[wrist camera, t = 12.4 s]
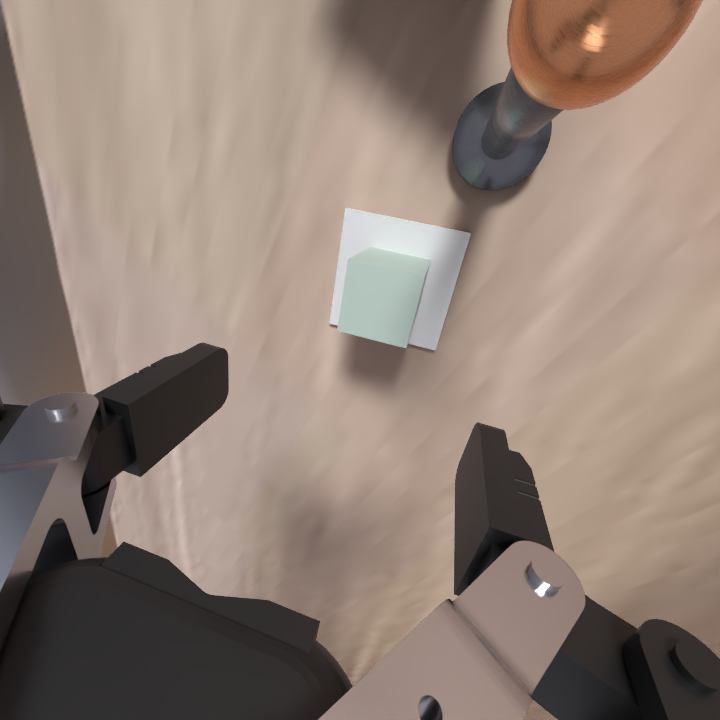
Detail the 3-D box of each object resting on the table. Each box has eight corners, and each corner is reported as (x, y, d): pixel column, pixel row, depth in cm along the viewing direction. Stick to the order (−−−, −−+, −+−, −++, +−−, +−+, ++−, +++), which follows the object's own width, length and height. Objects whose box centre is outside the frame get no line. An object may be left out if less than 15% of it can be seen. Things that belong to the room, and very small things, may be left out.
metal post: (563, 94, 22) (1057, -396, 4) (526, 197, 24) (720, 181, 7) (468, 81, 22) (525, -370, 5) (442, 182, 25) (419, 132, 7)
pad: (470, 233, 26) (471, 233, 26) (435, 349, 31) (435, 350, 30) (346, 207, 27) (345, 207, 27) (330, 322, 32) (329, 323, 32)
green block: (431, 259, 27) (424, 276, 21) (416, 318, 29) (406, 348, 23) (371, 246, 28) (347, 259, 22) (360, 304, 30) (337, 330, 24)
